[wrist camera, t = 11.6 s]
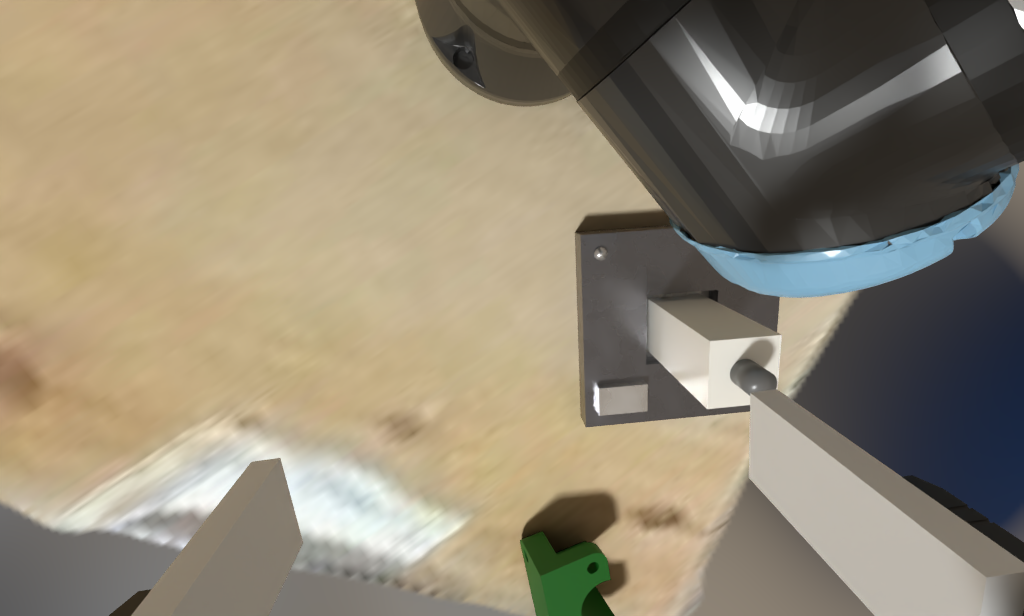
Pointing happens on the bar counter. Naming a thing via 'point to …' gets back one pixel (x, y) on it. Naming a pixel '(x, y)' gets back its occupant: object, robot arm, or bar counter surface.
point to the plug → (712, 349)
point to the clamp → (565, 578)
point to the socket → (643, 321)
